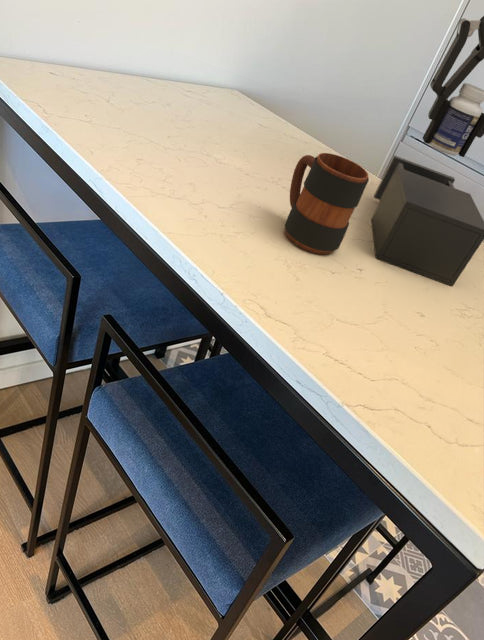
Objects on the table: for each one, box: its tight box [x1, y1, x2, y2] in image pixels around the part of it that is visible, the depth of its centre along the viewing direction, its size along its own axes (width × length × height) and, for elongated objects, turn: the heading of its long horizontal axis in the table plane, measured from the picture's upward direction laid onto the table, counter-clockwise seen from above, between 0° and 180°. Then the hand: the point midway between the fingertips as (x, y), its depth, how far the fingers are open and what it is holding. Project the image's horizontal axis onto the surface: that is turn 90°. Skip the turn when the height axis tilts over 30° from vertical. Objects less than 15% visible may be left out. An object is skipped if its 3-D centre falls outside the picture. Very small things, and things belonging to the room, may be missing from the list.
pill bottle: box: [428, 82, 484, 156], centre depth 90 cm, size 5×5×10 cm
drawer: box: [373, 155, 456, 203], centre depth 99 cm, size 18×11×8 cm, turn 170°
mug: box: [284, 152, 370, 255], centre depth 81 cm, size 9×12×12 cm
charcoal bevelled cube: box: [370, 167, 484, 287], centre depth 89 cm, size 15×13×10 cm
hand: (443, 147), depth 93 cm, fingers closed on pill bottle, 5 cm apart
